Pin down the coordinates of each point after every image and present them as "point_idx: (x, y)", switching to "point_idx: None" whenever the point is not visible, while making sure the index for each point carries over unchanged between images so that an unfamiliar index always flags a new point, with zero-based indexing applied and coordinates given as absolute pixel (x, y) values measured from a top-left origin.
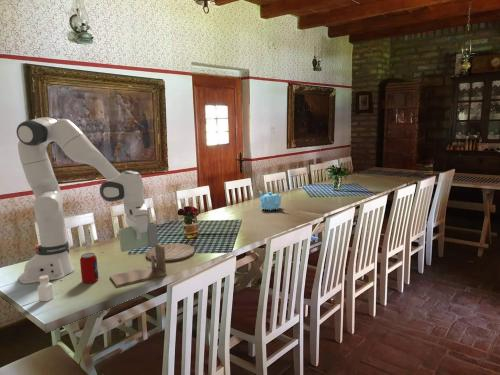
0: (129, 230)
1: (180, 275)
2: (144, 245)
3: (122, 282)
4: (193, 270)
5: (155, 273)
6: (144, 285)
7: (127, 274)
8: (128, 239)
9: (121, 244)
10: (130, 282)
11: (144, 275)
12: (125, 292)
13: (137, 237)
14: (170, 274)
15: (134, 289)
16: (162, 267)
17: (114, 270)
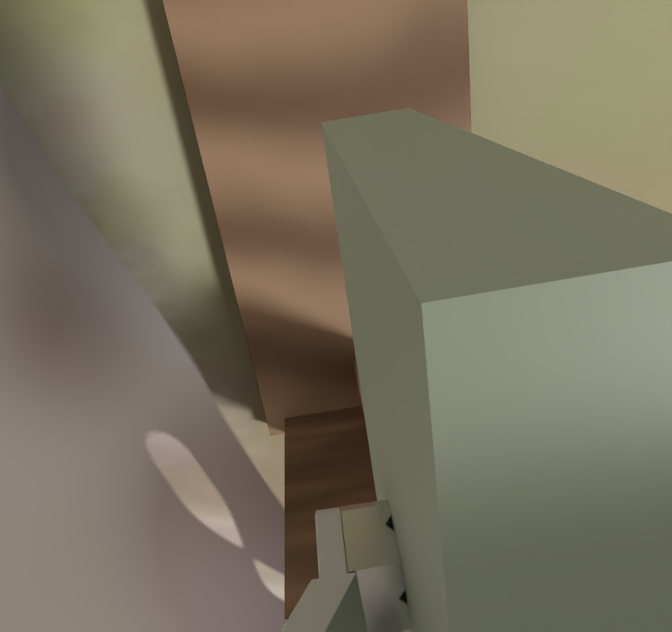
0: (424, 600)
1: (220, 498)
2: (376, 486)
3: (208, 56)
4: (273, 572)
5: (299, 362)
6: (119, 246)
7: None
8: (369, 357)
9: (333, 149)
10: (197, 136)
11: (296, 276)
12: (4, 60)
13: (318, 550)
14: (270, 447)
15: (54, 152)
16: (309, 438)
17: (645, 14)
